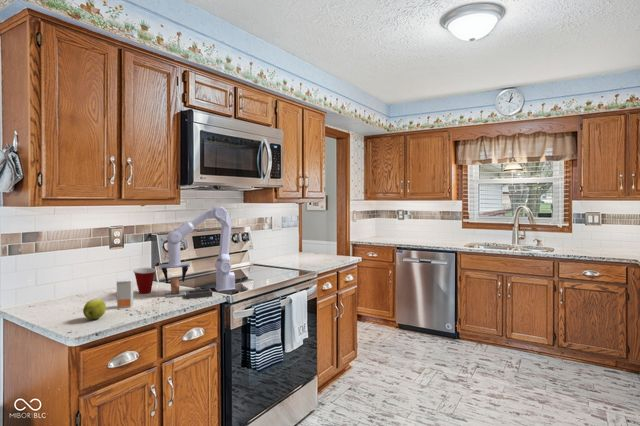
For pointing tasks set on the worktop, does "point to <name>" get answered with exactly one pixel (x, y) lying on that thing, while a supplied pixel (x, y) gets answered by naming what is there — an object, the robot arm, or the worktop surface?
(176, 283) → the peg
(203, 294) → the dark flat piece
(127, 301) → the skincare box
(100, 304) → the apple
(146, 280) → the plastic cup
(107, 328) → the worktop surface
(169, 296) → the mat
